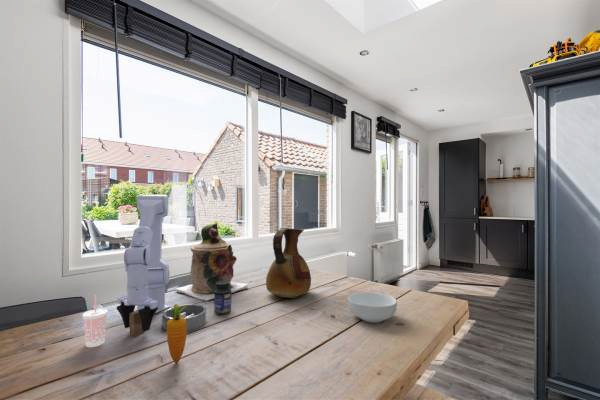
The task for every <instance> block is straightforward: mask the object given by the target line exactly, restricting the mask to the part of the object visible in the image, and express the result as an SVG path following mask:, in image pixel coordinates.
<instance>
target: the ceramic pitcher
mask: <svg viewBox="0 0 600 400" xmlns="http://www.w3.org/2000/svg"><path fill="white" fill-rule="evenodd" d="M304 231H305V229H300V228H299V229H298V228H290V227H288V228H287V227H280V228H279V229H278V230H277V231H276V232H275V233H274V235H273V237H272V238H273V239H272V249H273V252H274V253H273V254H274V257H275V259H274V260H273V262H272V264H271V265H270V267H269V269H268V272H267V274H266V280H265V286H266V287H265V288H266V290H267V291H268V293H271V294H274V295H276V296H277V297H282V298H290V299H291V298H293V299H294V298H298V296H301V295H305V294H306V293H307V294H308V292H309V291H310V290H311V284H312V275H311V272H310V268H309V266H308V263H307V262H306V261H307V260H305V258H304V257H303V256H302V255H301V254H300V252H299V249H298V243H299V237H300V235H301V234H302V233H303V232H304ZM283 237H284V242H285V243H284V249H283Z"/></svg>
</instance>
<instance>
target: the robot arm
mask: <svg viewBox="0 0 600 400" xmlns="http://www.w3.org/2000/svg"><path fill="white" fill-rule="evenodd" d="M136 206H137V210H138V213H140V218H139V225H138V227H137V228H135V229H134V230H133V233H132V237H131V241H130V244H129V247H128V248H126V249H125V251H124V254H123V262H124V269H125V270H124V271H125V272H126V295H121V296H119V297H118V296H117V304H119V305H118V306H116V310H117V311H118V313H119V314H120V316H121V319H122V323H123V325H124V328H125V329H128V328H130V313H132V312H134V311H137V310H138V312H139V314H140V317H141V321H142V331H143V333H145V332H147V331H150V329H151V325H152V321H153V319H154V317H155V314H157V313H159V312H161V311H165V310H167V309H170V308H171V306H170V304H169V305H167V304H166V298H165V297H166V286H167V284H168V283H169V281H170V266H169V263H167V262H166V261H164V260H163V259H162V246H163V244H162V243H163V239H162V238H163V236H162V235H163V220H164V218H165V217H167V216H168V214H169V197H168V196H167V194H138V196H137V198H136ZM136 307H137V308H136ZM135 308H136V309H135ZM139 309H140V310H139Z"/></svg>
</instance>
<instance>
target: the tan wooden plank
mask: <svg viewBox="0 0 600 400" xmlns="http://www.w3.org/2000/svg"><path fill="white" fill-rule="evenodd" d="M139 310H140V309H139ZM143 333H144V332H143V331H142V321H141V317H140V314H139V312H138V310H137V311H135V310H134V312H132V313H130V327H129V333H128V334H129V337H131V338H135V337H137V336H139V335H141V334H143Z"/></svg>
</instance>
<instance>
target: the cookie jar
mask: <svg viewBox="0 0 600 400" xmlns="http://www.w3.org/2000/svg"><path fill="white" fill-rule="evenodd" d="M218 223H219V222H218V221H217V220H216V221H214V223H211V224H207V225H204V226H203V227H202V228H201V230H200V231H201V232H200V236H201V239H202V241H201V242H200V243H197V244H195V245H193V246H190V250H191V251H190V252H192V257H191V264H190V281H191V283H192V284H187V285H184V286H180V287H175V290H176V292H178V293H180V294H184V295H187V296H190V297H192V298H195V299H198V300H201V301H205V302H208V301H210V300H213V299H214V291H215V290H216V289H217V287H216V283H217V282H220V281H228V282H229V288H230V289H231V294H232V293H235V292H238V291H242V290H246V289H247V287H248V286H249V283H244V282H243V283H242V282H235V281H232V279H233V277H234V270H235V269H234V265H235V263H236V262H237V257H236V256H235V255H234V251H233V247H232V245H231V244H229V243H227V241H226V240H224V239H222V237H221V236H220V234H219V228H218Z"/></svg>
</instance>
